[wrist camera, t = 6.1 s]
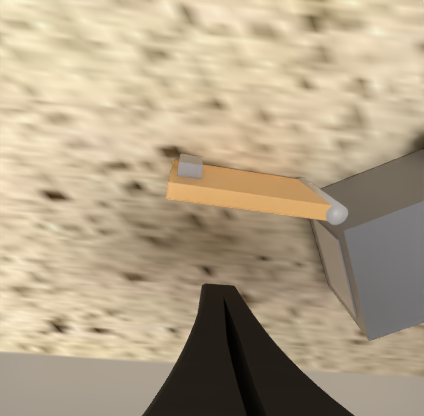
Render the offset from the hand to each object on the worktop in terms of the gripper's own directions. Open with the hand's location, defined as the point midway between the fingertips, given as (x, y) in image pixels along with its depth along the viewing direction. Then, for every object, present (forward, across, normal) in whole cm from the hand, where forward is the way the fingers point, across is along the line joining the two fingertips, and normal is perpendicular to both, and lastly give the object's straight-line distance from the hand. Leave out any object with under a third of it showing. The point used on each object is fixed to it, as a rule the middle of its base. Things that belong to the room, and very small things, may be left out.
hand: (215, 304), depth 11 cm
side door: (+5, -1, -4) cm, 7 cm away
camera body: (+6, -12, -3) cm, 13 cm away
